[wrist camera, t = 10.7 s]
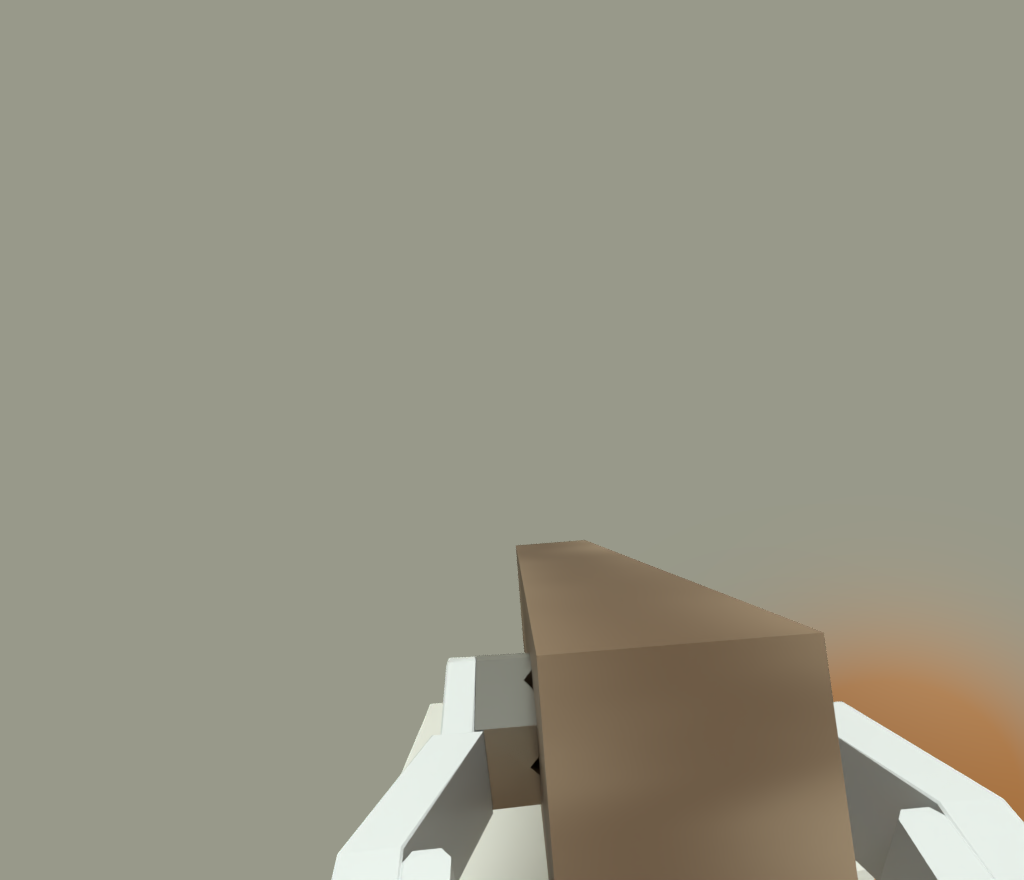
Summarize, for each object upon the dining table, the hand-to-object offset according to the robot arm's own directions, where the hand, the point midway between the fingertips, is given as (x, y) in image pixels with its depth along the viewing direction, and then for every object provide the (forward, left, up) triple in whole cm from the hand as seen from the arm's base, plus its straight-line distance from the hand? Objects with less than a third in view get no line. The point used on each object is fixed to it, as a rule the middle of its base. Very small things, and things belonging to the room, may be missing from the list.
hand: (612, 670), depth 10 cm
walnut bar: (0, -5, -2) cm, 5 cm away
